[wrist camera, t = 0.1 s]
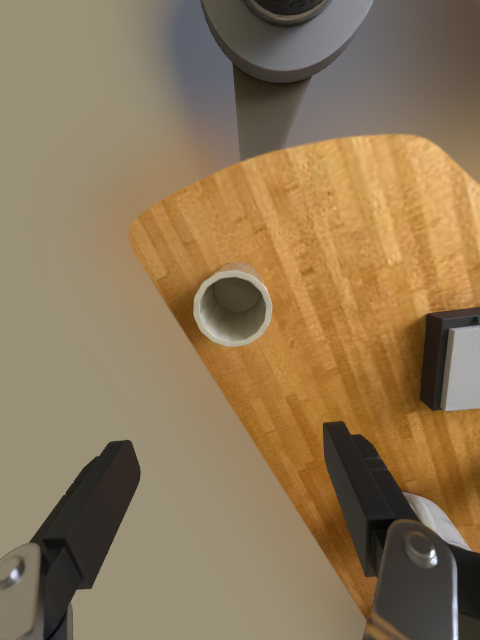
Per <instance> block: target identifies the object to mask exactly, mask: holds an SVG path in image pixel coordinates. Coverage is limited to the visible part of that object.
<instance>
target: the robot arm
mask: <svg viewBox="0 0 480 640" xmlns="http://www.w3.org/2000/svg"><path fill="white" fill-rule="evenodd" d="M331 1H332V0H243V2H244V3H245V5H246V6H247V7H248V9H249V10H250V11H251V12H252V13H253V14H254V15H255V16H256V17H258V18H259V19H260V20H262V21H264V22H265V23H267V24H270V25H272V26H276V27H283V28H290V27H296V26H300V25H302V24H305V23H307V22H309V21H311V20H312V19H314V18H315V17H317V16H318V15H319V14H320V13H321V12H323V10H324V9H325V8H326V7H327V6H328V5H329V4H330V3H331ZM323 440H324V456H325V462H326V466H327V470H328V473H329V475H330V478H331V481H332V484H333V487H334V489H335V492H336V495H337V498H338V501H339V504H340V506H341V509H342V512H343V515H344V518H345V520H346V523H347V526H348V529H349V532H350V535H351V537H352V540H353V543H354V546H355V549H356V551H357V554H358V557H359V560H360V563H361V566H362V568H363V571H364V574H365V577H377V579H378V580H377V585H376V590H375V595H374V600H373V605H372V610H371V614H370V617H369V618H368V620H367V623H366V626H365V630H364V634H363V639H362V640H480V553H476V552H472V551H469V550H465V549H462V548H459V547H456V546H454V545H451V544H449V543H447V542H446V541H444V540H443V539H442V538H441V537H440V536H439V535H438V534H437V533H436V532H434V531H433V530H432V529H430V528H429V527H427V526H426V525H424V524H423V523H422V522H421V521H420V519H419V518H418V516H417V515H416V513H415V512H414V510H413V508H412V507H411V505H410V504H409V502H408V500H407V499H406V497H405V496H404V494H403V492H402V491H401V489H400V488H399V486H398V484H397V483H396V481H395V480H394V478H393V476H392V475H391V473H390V472H389V471H388V469H387V467H386V465H385V464H384V462H383V460H381V457H380V456H379V454H378V452H377V451H376V449H375V448H374V446H373V444H371V443H370V442H369V441H368V440H367V439H365V438H364V437H363V436H362V435H361V434H357V435H351V434H350V432H349V431H348V429H347V427H346V425H345V423H344V422H343V421H338V422H327V423H323ZM139 480H140V466H139V463H138V460H137V457H136V454H135V451H134V448H133V445H132V442H131V441H130V440H124V441H113V442H110V443H108V444H107V446H106V447H105V449H104V450H103V452H102V453H101V455H100V456H97V457H95V458H94V459H93V460H92V461H91V462H90V463H89V464H87V465H86V466H85V467H84V468H83V469H82V471H81V472H80V473H79V475H78V476H77V478H76V479H75V480H74V483H73V484H71V486H70V487H69V489H68V490H67V491H66V495H63V497H62V498H61V500H60V501H59V502H58V504H57V505H56V506H55V508H54V509H53V510H52V512H51V513H50V515H49V516H48V517H47V519H46V520H45V522H44V523H43V524H42V526H41V527H40V528H39V530H38V531H37V532H36V534H35V535H34V537H33V538H32V539H31V541H30V542H29V543H27V544H23V545H21V546H19V547H17V548H15V549H13V550H12V551H10V552H8V553H7V554H6V555H5V556H3V557H2V558H1V559H0V640H73V613H72V605H71V600H72V597H73V596H74V594H75V592H76V590H78V589H91V588H92V586H93V584H94V582H95V579H96V577H97V575H98V573H99V571H100V568H101V566H102V564H103V562H104V559H105V557H106V555H107V553H108V550H109V548H110V546H111V544H112V542H113V540H114V537H115V535H116V533H117V531H118V528H119V526H120V524H121V522H122V519H123V517H124V515H125V513H126V511H127V508H128V506H129V504H130V502H131V500H132V497H133V495H134V493H135V491H136V489H137V486H138V484H139Z"/></svg>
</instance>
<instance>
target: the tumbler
mask: <svg viewBox="0 0 480 640" xmlns="http://www.w3.org/2000/svg"><path fill="white" fill-rule="evenodd" d="M271 314H272V302H271V299H270V297H269V294H268V291H267V288H266V286H265V284H264V282H263V279H262V277H261V275H260V274H259V273H258V272H257V270H256V269H254V268H253V267H252V266H251V265H248V264H246V263H242V262H232V263H227V264H225V265H224V266H222V267H221V268H219V269H218V270H217V271H215V272H214V273H213V274H212V275H211V276H210V277H208V278H207V279H206V280H205V281H204V282H203V283H202V284H201V286H200V288H199V290H198V291H197V293H196V295H195V297H194V308H193V315H194V318H195V320H196V323H197V325H198V327H199V329H200V331H201V332H202V333H203V334H204V335H205V336H207V337H208V338H209V339H210V340H211V341H212V342H214V343H217V344H220V345H224V346H227V347H236V346H245V345H248V344H249V343H251V342H253V341H254V340H256V339H258V338H259V337H261V336H262V334H263V333H264V331H265V330H266V328H267V327H268V325H269V324H270V321H271Z"/></svg>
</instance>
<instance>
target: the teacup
mask: <svg viewBox="0 0 480 640" xmlns="http://www.w3.org/2000/svg"><path fill="white" fill-rule="evenodd" d="M403 494H404V496H405V497H406V499H407V500H408V502H409V504H410V505H411V507H412V508H413V510H414V512H415V513H416V515H417V516H418V518H419V519H420V521H421V522H422V523H423V524H424V525H426V526H427V527H429V528H430V529H432V530H433V531H434V532H436V533H437V534H438V535H439V536H440V537H441V538H442V539H443V540H444V541H446V542H447V543H449V544H451V545H454V546H456V547H459V548H462V549H465V550H469V551H472V550H471V549H470V548H469V547H468V545H467V544H466V542H465V541H464V539H463V538H462V536H461V535H460V534H459V532H458V531H457V529H456V528H455V526H454V525H453V524H452V522H451V521H450V520H449V518H448V517H447V516H446V514H445V513H444V512H443V511H442V510H441V509H440V508H439V507H438V506H437V505H436V504H435V503H433V502H432V501H430V500H428V499H426V498H424V497H421V496H418V495H414V494H411V493H405V492H403ZM472 552H473V551H472Z"/></svg>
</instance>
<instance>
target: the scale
mask: <svg viewBox="0 0 480 640" xmlns="http://www.w3.org/2000/svg"><path fill="white" fill-rule="evenodd" d="M420 400H421V401H423V402H424V403H425V404H426V405H427V406H428V407H429V408H430V409H432V410H433V411H434V410H444V411H456V410H466V409H476V408H480V307H477V308H469V309H461V310H453V311H445V312H437V313H428V314H427V323H426V335H425V347H424V359H423V371H422V382H421V394H420Z"/></svg>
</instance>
